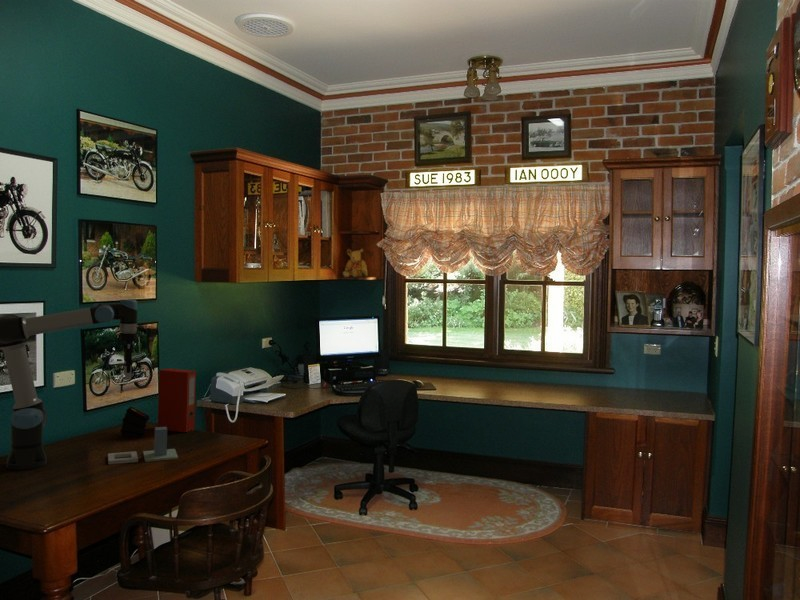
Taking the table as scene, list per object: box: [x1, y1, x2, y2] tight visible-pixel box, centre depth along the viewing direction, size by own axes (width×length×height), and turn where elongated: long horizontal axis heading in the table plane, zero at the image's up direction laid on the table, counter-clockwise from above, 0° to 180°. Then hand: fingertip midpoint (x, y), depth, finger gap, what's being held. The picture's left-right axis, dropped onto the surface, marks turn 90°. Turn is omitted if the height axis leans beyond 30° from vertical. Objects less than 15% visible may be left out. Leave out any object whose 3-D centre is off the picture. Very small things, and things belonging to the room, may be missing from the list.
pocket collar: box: [107, 451, 139, 465], centre depth 290 cm, size 12×12×2 cm
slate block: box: [153, 426, 168, 456], centre depth 297 cm, size 5×5×12 cm
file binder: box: [157, 367, 197, 433], centre depth 344 cm, size 8×17×32 cm, turn 75°
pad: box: [142, 448, 179, 463], centre depth 297 cm, size 14×14×1 cm
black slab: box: [119, 406, 150, 438], centre depth 328 cm, size 4×13×15 cm, turn 88°
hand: (127, 377), depth 303 cm, fingers open, 13 cm apart
